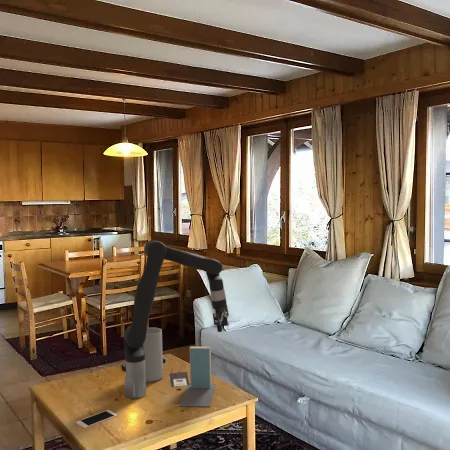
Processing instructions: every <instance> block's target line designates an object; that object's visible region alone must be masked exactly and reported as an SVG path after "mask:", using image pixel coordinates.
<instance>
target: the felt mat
mask: <svg viewBox="0 0 450 450" xmlns="http://www.w3.org/2000/svg"><path fill="white" fill-rule="evenodd" d="M189 384H190V382H189ZM216 385H217V384H216V383H211V388H191V384H190V385H186V388H185V391H184V393H183V395H182V398H181V399H180V400H181V401H179V406H178V407H180V408H182V407H183V408H184V407H187V408H210V407H211V402H212V400H213V397H214V396H213V395H214V393H215V389H216Z"/></svg>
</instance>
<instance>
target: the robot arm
mask: <svg viewBox="0 0 450 450" xmlns="http://www.w3.org/2000/svg"><path fill="white" fill-rule="evenodd" d="M143 251H144V254H145V256H146V263H145V268H144V270H143V273H142V274H141V277H140V278H139V281H138V283H137V286H136V289H135V293H134V300H133V317H132V322H131V324H130V325H129V326H128V327H126V329H125V330H124V333H123V346H124V347H123V348H124V349H123V350H124V357H125V376H124V378H123V379H124V397H127V398H128V399H130V400H131V399H132V400H135V399H140V398H143V397H145V396H146V395H147V382H146V372H145V352H144V347H143V344H144V342H145V339H146V332H147V328H148V323H149V318H150V316H151V312H152V309H153V304H154V301H155V297H156V292H157V288H158V283H159V278H160V273H161V268H162V266H163V263H164V261H169V262H173V263H176V264H179V265H182V266H184V267H188V268H191V269H195V270H199V271H202V272H205V274H206V277H207V280H208V285H209V290H210V291H209V293H210V301H211V302H210V303H211V306H212V309H214V310H215V312H214V313H212V319H213V324H214V326H216V329H217V330H216V331H217V332H218V333H222V331H223V327H222V322H223V326H224V327H228V326H229V321H228V318H229V315H230V314H229V309H228V308H229V307H228V304H227V298H226V291H225V288H224V280H223V278H222V277H221V275H220V273H221V272H222V271H223V264H222V262H220V261H219V260H218V259H217V260H216V259H214V258H207V257H204V256H202V255H199V254H197V253H193V252H189V251H184V250H180V249H176V248H173V247H170V246H167V245H165V243H163V242H161V241H159V240H155V239H154V240H152V239H151V240H149V241H148V242H147V243H146V244H145V245H144V248H143Z"/></svg>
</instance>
